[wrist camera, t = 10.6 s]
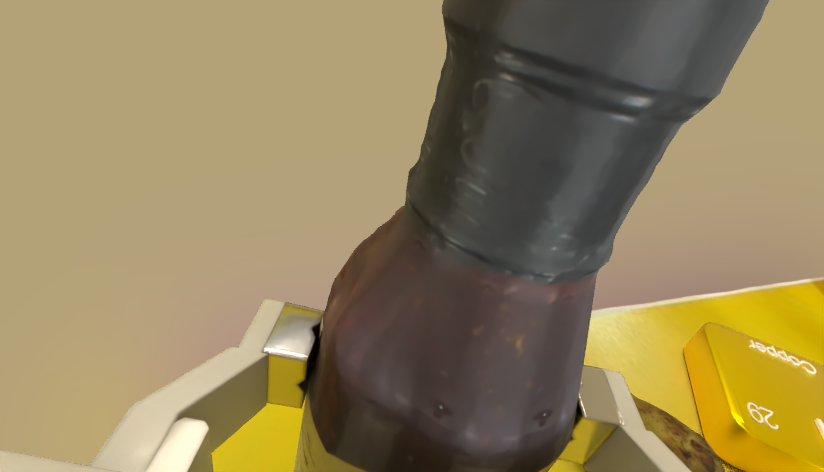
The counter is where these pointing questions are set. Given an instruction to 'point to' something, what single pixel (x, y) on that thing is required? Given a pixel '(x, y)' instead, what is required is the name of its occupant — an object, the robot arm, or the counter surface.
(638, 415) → the robot arm
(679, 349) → the counter surface
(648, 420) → the potato
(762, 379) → the element tile
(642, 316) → the counter surface
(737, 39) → the sauce bottle
